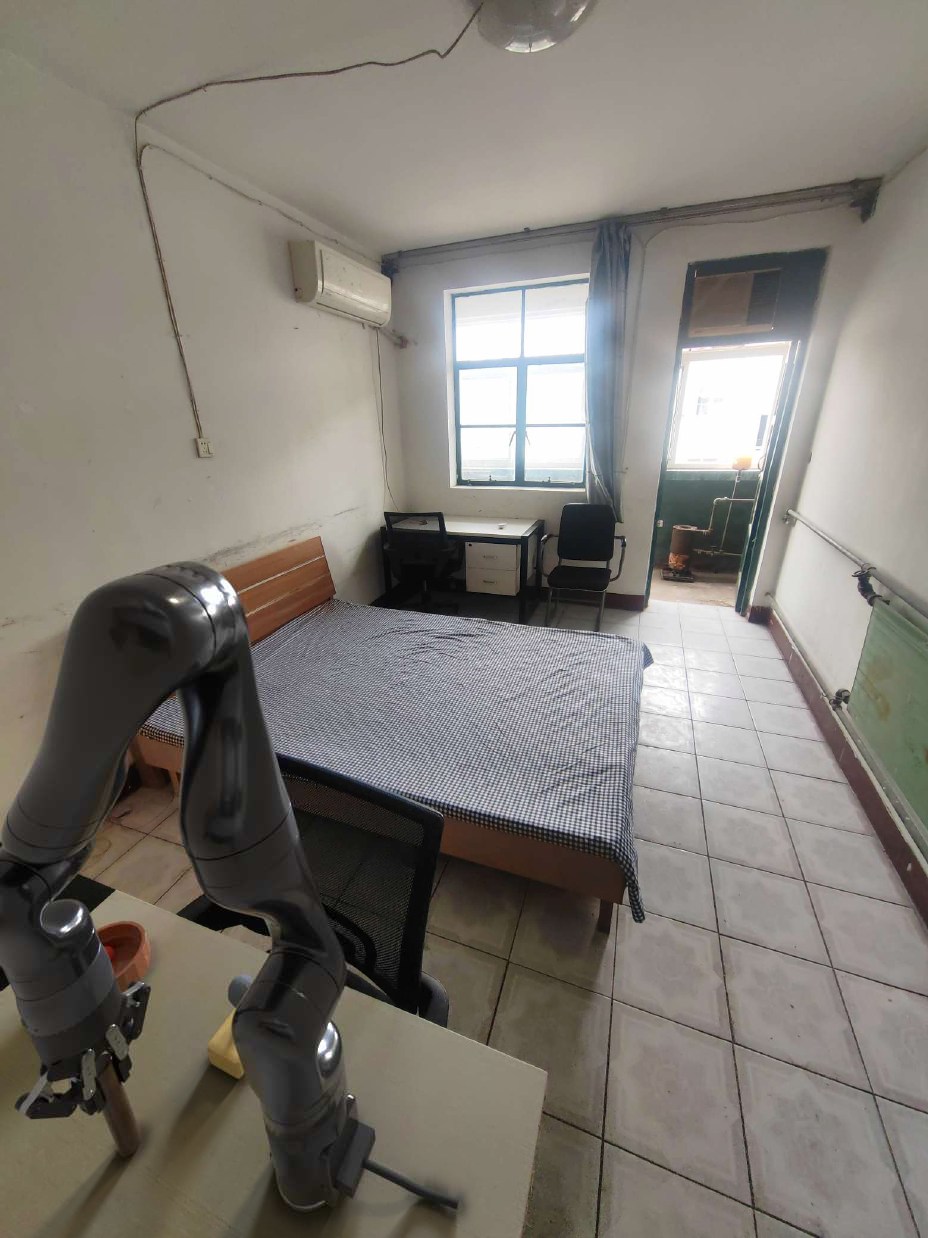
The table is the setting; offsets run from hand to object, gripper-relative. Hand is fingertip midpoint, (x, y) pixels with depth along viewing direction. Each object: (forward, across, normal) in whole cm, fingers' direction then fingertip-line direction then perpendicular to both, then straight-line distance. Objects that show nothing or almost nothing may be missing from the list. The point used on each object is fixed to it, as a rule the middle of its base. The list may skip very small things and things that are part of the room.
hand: (109, 1091), depth 56 cm
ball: (+9, +14, +25) cm, 31 cm away
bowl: (+11, +14, +23) cm, 29 cm away
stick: (+11, 0, 0) cm, 11 cm away
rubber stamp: (+11, +15, -6) cm, 19 cm away
